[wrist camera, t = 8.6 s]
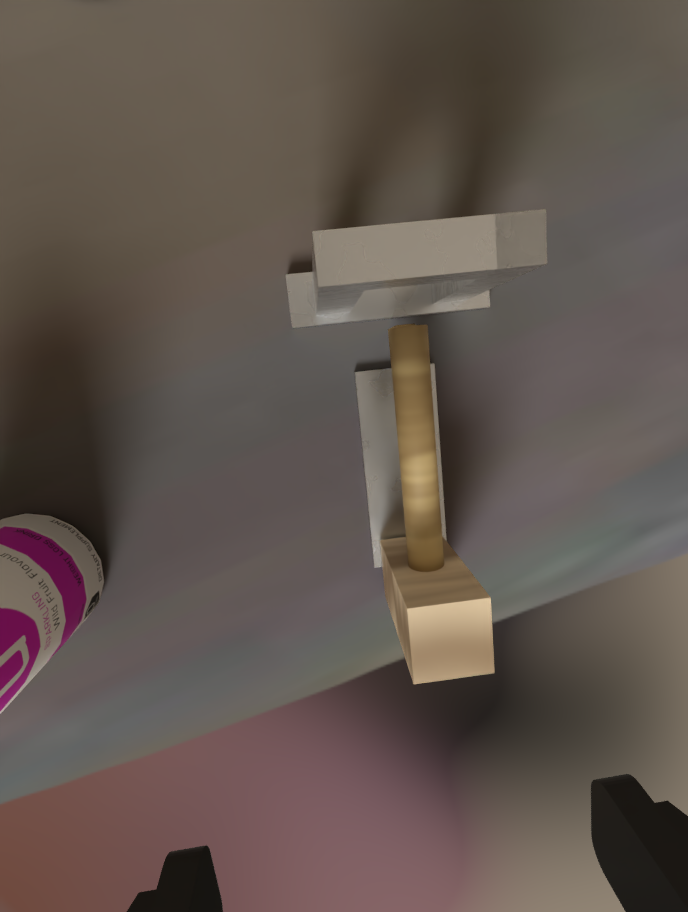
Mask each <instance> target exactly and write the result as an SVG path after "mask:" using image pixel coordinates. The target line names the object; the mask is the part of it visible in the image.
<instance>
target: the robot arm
mask: <svg viewBox="0 0 688 912" xmlns="http://www.w3.org/2000/svg"><path fill="white" fill-rule="evenodd" d="M591 831H592V832H591V834H592V842H593V847H594V850H595V853H596V856H597V859H598V862H599V864H600V866H601V868H602V870H603V873H604V874H605V876H606V878H607V880H608V882H609V883H610V885H611V887H612V888H613V890H614V892H615V894H616V896H617V897H618V899H619V901H620V903H621V904H622V906H623V908H624V910H625V911H626V912H688V816H687V815H685V814H684V813H683V812H682V811H680V810H679V809H678V808H676V807H675V806H674V805H672V804H671V803H670V802H668V801H664V802H658V803H654V802H653V800H652V799H651V798H650V796H649V795H648V794H647V793H646V791H645V790H644V789H643V788H642V786H641V785H640V784H639V783H638V781H637V780H636V779H635V778H634V777H633V776H631V775H629V774H625V775H619V776H613V777H608V778H601V779H596V780H593V781H592V783H591ZM127 912H223V908H222V900H221V895H220V891H219V887H218V883H217V878H216V874H215V870H214V866H213V862H212V857H211V853H210V849H209V847H208V846H200V847H195V848H189V849H184V850H177V851H172V852H169V854H168V855H167V857H166V859H165V862H164V865H163V868H162V872H161V875H160V879H159V883H158V886H157V889H156V890H151V891H145V892H140V893H138V895H137V896H136V898H135V900H134V901H133V903H132V904H131V906H130V908H129V909H128V911H127Z"/></svg>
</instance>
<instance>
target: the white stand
mask: <svg viewBox="0 0 688 912" xmlns="http://www.w3.org/2000/svg"><path fill="white" fill-rule="evenodd" d="M546 264H547V238H546V209H542V210H531V211H520V212H510V213H499V214H489V215H478V216H468V217H457V218H447V219H436V220H426V221H415V222H405V223H394V224H384V225H373V226H363V227H352V228H342V229H331V230H321V231H312V272H305V273H295V274H286V282H287V290H288V298H289V306H290V314H291V322H292V328H293V329H297V328H307V327H316V326H326V325H336V324H345V323H355V322H364V321H374V320H383V319H393V318H403V317H412V316H422V315H431V314H441V313H450V312H460V311H470V310H479V309H485V308H488V307H490V297H489V290H490V289H493V288H495V287H497V286H499V285H502V284H504V283H506V282H508V281H510V280H513V279H515V278H517V277H519V276H522V275H524V274H526V273H528V272H530V271H533V270H535V269H537V268H539V267H542V266H544V265H546ZM430 368H431V383H432V397H433V411H434V425H435V439H436V454H437V468H438V482H439V496H440V510H441V524H442V536H443V537H444V539H445V540H446V541H447V539H446V525H445V510H444V496H443V481H442V467H441V452H440V438H439V423H438V409H437V394H436V380H435V365H434V364H430ZM354 374H355V384H356V394H357V404H358V414H359V424H360V434H361V444H362V454H363V463H364V473H365V483H366V493H367V503H368V513H369V523H370V533H371V543H372V553H373V563H374V567H375V568H376V567H382V556H381V546H380V540H384V539H392V538H400V537H406V531H405V519H404V508H403V496H402V485H401V473H400V461H399V450H398V438H397V426H396V415H395V403H394V392H393V380H392V368H387V369H378V370H369V371H360V372H354Z"/></svg>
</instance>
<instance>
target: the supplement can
mask: <svg viewBox="0 0 688 912" xmlns="http://www.w3.org/2000/svg"><path fill="white" fill-rule="evenodd" d="M103 584H104V577H103V571H102V564H101V560H100V558H99V556H98V554H97V553H96V551H95V549H94V547H93V545H92V544H91V542H90V541H89V540H88V539H87V538H86V537H85V536H84V535H83V534H81V533H80V532H79V531H78V530H77V529H76V528H75V527H74V526H72V525H70V524H68V523H66V522H63V521H61V520H59V519H56V518H54V517H52V516H47V515H37V514H27V513H26V514H21V515H17V516H13V517H8V518H4V519H1V520H0V714H1V713H2V712H3V710H4V709H5V708H6V707H7V706H8V705H9V704H10V703H11V702H12V701H13V699H14V698H15V697H16V696H17V695H18V694H19V693H20V692H21V691H22V689H23V688H24V687H25V686H26V685H27V684H28V683H29V682H30V681H31V680H32V678H33V677H34V676H35V675H36V674H37V673H38V672H39V671H40V670H41V668H42V667H43V666H44V665H45V664H46V663H47V662H48V661H49V660H50V659H51V657H52V656H53V655H54V654H55V653H56V652H57V651H58V650H59V649H60V648H61V646H62V645H63V644H64V643H65V642H66V641H67V640H68V639H69V638H70V636H71V635H72V634H73V633H74V632H75V631H76V630H77V629H78V628H79V627H80V625H81V624H82V623H83V622H84V621H85V620H86V619H87V618H88V616H89V615H90V613H91V612H92V611H93V609H94V608H95V607H96V605H97V604H98V603H99V601H100V596H101V592H102V588H103Z"/></svg>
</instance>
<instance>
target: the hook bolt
mask: <svg viewBox="0 0 688 912" xmlns="http://www.w3.org/2000/svg"><path fill="white" fill-rule="evenodd" d="M388 334H389V346H390V357H391V368H392V380H393V392H394V403H395V415H396V426H397V438H398V450H399V461H400V473H401V485H402V496H403V508H404V519H405V531H406V537H400V538H392V539H384V540H380V546H381V556H382V567H383V577H384V587H385V596H386V600H387V603H388V606H389V609H390V612H391V615H392V618H393V621H394V624H395V627H396V631H397V634H398V637H399V640H400V643H401V646H402V649H403V652H404V655H405V658H406V662H407V665H408V668H409V671H410V674H411V677H412V680H413V683H414V684H419V683H426V682H433V681H440V680H447V679H454V678H462V677H469V676H476V675H483V674H489V673H494V654H493V635H492V615H491V597H490V596H489V595H488V594H487V592H486V591H485V590H484V589H483V587H482V586H481V585H480V583H479V582H478V581H477V580H476V578H475V577H474V576H473V574H472V573H471V572H470V571H469V569H468V568H467V567H466V565H465V564H464V563H463V562H462V560H461V559H460V558H459V557H458V555H457V554H456V553H455V551H454V550H453V549H452V548H451V546H450V545H449V544H448V542H447V541H446V540H445V539H444V537H443V536H442V524H441V510H440V496H439V482H438V468H437V454H436V439H435V425H434V411H433V397H432V383H431V368H430V354H429V340H428V326H427V325H415V324H405V325H396V326H394V327H392V328H390V329H388Z"/></svg>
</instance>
